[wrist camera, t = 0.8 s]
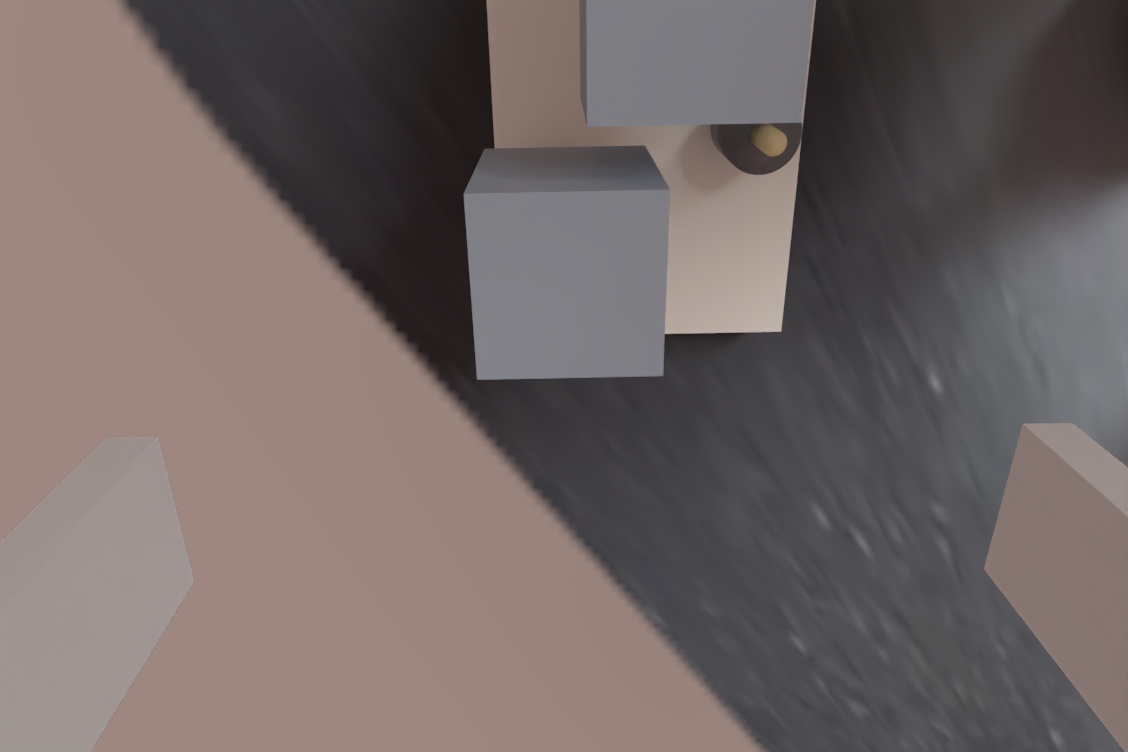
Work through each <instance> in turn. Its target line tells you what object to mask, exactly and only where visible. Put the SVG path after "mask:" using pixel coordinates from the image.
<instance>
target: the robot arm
mask: <svg viewBox="0 0 1128 752" xmlns="http://www.w3.org/2000/svg"><path fill="white" fill-rule="evenodd" d="M984 570H985V571H986V572H987V574H988V575H989V576H990V577H991V579H992V580H993V581H994V583H995V584H996V585H997V586H998V588H999V589H1000V590H1001V592H1002V593H1003V594H1004V596H1005V597H1006V598H1007V599H1008V601H1009V602H1010V603H1011V605H1012V606H1013V607H1014V609H1015V610H1016V611H1017V612H1018V614H1019V615H1020V616H1021V618H1022V619H1023V620H1024V622H1025V623H1026V624H1027V625H1028V627H1029V628H1030V629H1031V631H1032V632H1033V633H1034V635H1035V636H1036V637H1037V638H1038V640H1039V641H1040V642H1041V644H1042V645H1043V646H1044V647H1045V649H1046V650H1047V651H1048V653H1049V654H1050V655H1051V657H1052V658H1053V659H1054V660H1055V662H1056V663H1057V664H1058V666H1059V667H1060V668H1061V670H1062V671H1063V672H1064V673H1065V675H1066V676H1067V677H1068V679H1069V680H1070V681H1071V683H1072V684H1073V685H1074V686H1075V688H1076V689H1077V690H1078V692H1079V693H1080V694H1081V696H1082V697H1083V698H1084V699H1085V701H1086V702H1087V703H1088V705H1089V706H1090V707H1091V708H1092V710H1093V711H1094V712H1095V714H1096V715H1097V716H1098V718H1099V719H1100V720H1101V721H1102V723H1103V724H1104V725H1105V727H1106V728H1107V729H1108V731H1109V732H1110V733H1111V734H1112V736H1113V737H1114V738H1115V740H1116V741H1117V742H1118V744H1119V745H1120V746H1121V747H1122V749H1123V750H1124V751H1125V752H1128V467H1127V466H1125V465H1124V464H1123V463H1122V462H1120V461H1119V460H1118V459H1117V458H1115V457H1114V456H1113V455H1112V454H1110V453H1109V452H1108V451H1107V450H1105V449H1104V448H1103V447H1102V446H1100V445H1099V444H1098V443H1097V442H1095V441H1094V440H1093V439H1092V438H1090V437H1089V436H1088V435H1087V434H1085V433H1084V432H1083V431H1082V430H1080V429H1079V428H1078V427H1077V426H1075V425H1074V424H1073V423H1038V424H1023V425H1022V429H1021V432H1020V436H1019V440H1018V444H1017V447H1016V451H1015V455H1014V458H1013V462H1012V466H1011V470H1010V473H1009V477H1008V481H1007V485H1006V488H1005V492H1004V496H1003V500H1002V503H1001V507H1000V511H999V515H998V518H997V522H996V526H995V530H994V533H993V537H992V541H991V545H990V548H989V552H988V556H987V560H986V563H985V567H984ZM193 584H194V578H193V574H192V570H191V566H190V562H189V558H188V554H187V550H186V546H185V542H184V538H183V534H182V530H181V526H180V522H179V518H178V514H177V510H176V506H175V502H174V498H173V494H172V490H171V486H170V482H169V478H168V474H167V470H166V466H165V462H164V458H163V454H162V450H161V446H160V442H159V438H158V436H107V437H106V438H105V439H104V440H103V441H101V442H100V443H99V444H98V445H97V447H95V448H94V449H93V450H92V451H91V452H90V453H89V454H88V455H87V456H86V457H85V458H84V459H83V460H82V461H81V462H80V463H79V464H78V465H77V466H76V467H75V468H74V469H73V470H72V471H71V472H70V473H69V474H68V475H67V476H66V477H65V478H64V479H63V480H62V481H61V482H60V483H59V484H58V485H57V486H56V487H55V488H54V489H53V490H52V491H51V492H50V493H49V494H48V495H47V496H46V497H45V498H44V499H43V500H42V501H41V502H40V503H39V504H38V505H37V506H36V507H35V508H34V509H33V510H31V511H30V512H29V513H28V514H27V515H26V516H25V517H24V518H23V520H21V521H20V522H19V523H18V524H17V525H16V526H15V527H14V528H13V529H12V530H11V531H10V532H9V533H8V534H7V535H6V536H5V537H4V538H3V539H2V540H1V541H0V752H91V751H92V750H93V748H94V746H95V745H96V743H97V741H98V740H99V738H100V737H101V735H102V733H103V732H104V730H105V728H106V727H107V725H108V723H109V722H110V720H111V718H112V717H113V715H114V714H115V712H116V710H117V709H118V707H119V705H120V703H121V702H122V700H123V699H124V697H125V695H126V693H127V692H128V691H129V689H130V687H131V686H132V684H133V682H134V681H135V679H136V677H137V676H138V674H139V672H140V671H141V669H142V668H143V666H144V664H145V662H146V661H147V659H148V658H149V656H150V654H151V653H152V651H153V649H154V648H155V646H156V645H157V643H158V641H159V640H160V638H161V636H162V635H163V633H164V631H165V629H166V628H167V626H168V625H169V623H170V621H171V620H172V618H173V617H174V615H175V613H176V612H177V610H178V608H179V607H180V605H181V603H182V602H183V600H184V598H185V597H186V595H187V594H188V592H189V590H190V589H191V587H192V585H193Z"/></svg>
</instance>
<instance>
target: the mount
mask: <svg viewBox="0 0 1128 752" xmlns="http://www.w3.org/2000/svg"><path fill="white" fill-rule="evenodd" d="M486 1H487V19H488V38H489V56H490V74H491V92H492V111H493V129H494V147H495V148H543V147H592V146H641V145H645V146H646V148H647V150H648V151H649V153H650V155H651V157H652V158H653V160H654V162H655V164H656V165H657V167H658V169H659V171H660V172H661V174H662V176H663V178H664V179H665V181H666V183H667V185H668V186H669V188H670V209H669V235H668V261H667V288H666V314H665V334H689V333H738V332H781V329H782V319H783V310H784V300H785V291H786V281H787V272H788V262H789V253H790V243H791V234H792V224H793V215H794V205H795V196H796V186H797V177H798V167H799V158H800V148H801V141H800V145H799V147H798V149H797V151H796V153H795V155H794V156H793V157H792V159H791V160H790V161H789V162H788V163H787V164H786V165H784V166H783V167H782V168H780V169H779V170H777V171H775V172H772V173H769V174H765V175H752V174H748V173H745V172H743V171H741V170H739V169H738V168H736V167H735V166H734V165H733V164H732V163H731V162H730V161H729V160H728V159H727V158H726V157H725V156H724V155H723V154H722V153H721V152H720V151H719V150H718V149H717V148H716V146H715V144H714V142H713V140H712V137H711V132H710V124H707V125H659V126H610V127H587V124H586V120H585V115H584V110H583V106H582V101H581V97H580V9H579V0H486ZM815 6H816V0H814V3H813V13H812V22H811V32H810V41H809V51H808V61H807V70H806V80H805V89H804V99H803V108H802V118H801V123H802V130H803V120H804V111H805V101H806V92H807V82H808V73H809V63H810V54H811V44H812V35H813V25H814V16H815ZM801 139H802V137H801Z"/></svg>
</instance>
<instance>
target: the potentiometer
mask: <svg viewBox="0 0 1128 752" xmlns="http://www.w3.org/2000/svg"><path fill="white" fill-rule="evenodd" d="M710 132H711V137H712V140H713V142H714V144H715V146H716V148H717V149H718V150H719V151H720V152H721V153H722V154H723V155H724V156H725V157H726V158H727V159H728V160H729V161H730V162H731V163H732V164H733V165H734V166H735V167H736V168H738V169H739V170H741V171H743V172H745V173H748V174H752V175H765V174H769V173H772V172H775V171H777V170H779V169H780V168H782V167H783V166H784V165H786V164H787V163H788V162H789V161H790V160H791V159H792V157H793V156H794V155H795V153H796V151H797V149H798V147H799V145H800V141H801V137H802V123H756V124H710Z"/></svg>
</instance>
